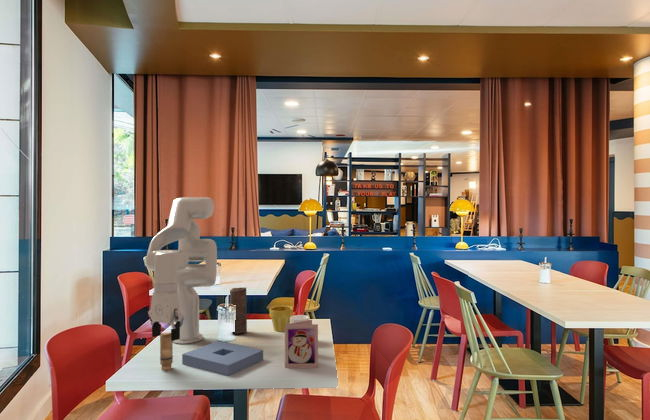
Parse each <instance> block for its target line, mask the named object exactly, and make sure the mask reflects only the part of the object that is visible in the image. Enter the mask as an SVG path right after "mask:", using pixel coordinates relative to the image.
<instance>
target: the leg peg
mask: <svg viewBox="0 0 650 420" xmlns="http://www.w3.org/2000/svg"><path fill="white" fill-rule="evenodd" d="M159 337H160V338H159V339H160V341H159V343H160V344H159V345H160V346H159V351H160V352H159V355H160V356H159V361H160V366H161V370H162V371H169V370H171V369H172V363H174V362H173V361H174V360H173V359H174V358H173V357H174V354H173V351H174V350H173V344H174V342H173V341H171V331H170V332H167V331H166V332H161V334H160V336H159Z"/></svg>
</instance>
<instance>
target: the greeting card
mask: <svg viewBox="0 0 650 420" xmlns="http://www.w3.org/2000/svg"><path fill="white" fill-rule="evenodd" d="M284 368H285V369H292V368H295V369H297V368H299V369H300V368H301V369H302V368H304V369H306V368H308V369H309V368H313V369H315V368H317V369H318V368H319V324H317V323H314V324H313V319H309V320H307V321H302V322H296V323H291V324H285V331H284Z"/></svg>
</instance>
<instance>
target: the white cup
mask: <svg viewBox="0 0 650 420" xmlns="http://www.w3.org/2000/svg"><path fill="white" fill-rule="evenodd" d="M307 320H310V317H309V315H305V314H295V315H292V316H291V317H290V324H291V323H296V322H302V321H307Z"/></svg>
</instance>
